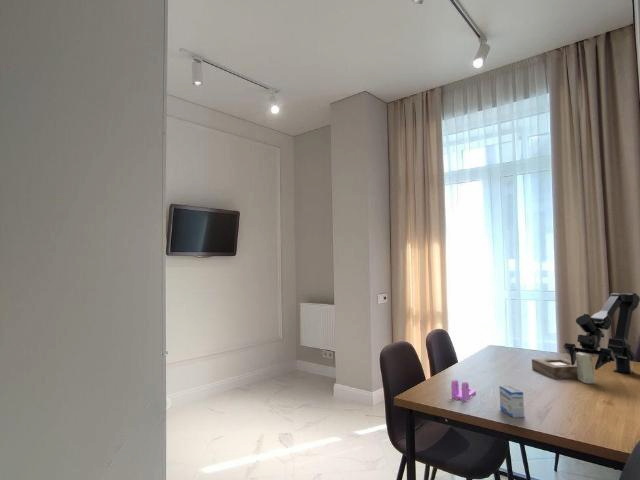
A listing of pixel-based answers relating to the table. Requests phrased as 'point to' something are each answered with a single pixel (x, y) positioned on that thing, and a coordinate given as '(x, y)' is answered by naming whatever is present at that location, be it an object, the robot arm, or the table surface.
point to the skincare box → (585, 367)
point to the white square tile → (557, 363)
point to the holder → (555, 368)
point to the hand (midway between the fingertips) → (583, 367)
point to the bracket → (461, 391)
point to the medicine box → (511, 401)
